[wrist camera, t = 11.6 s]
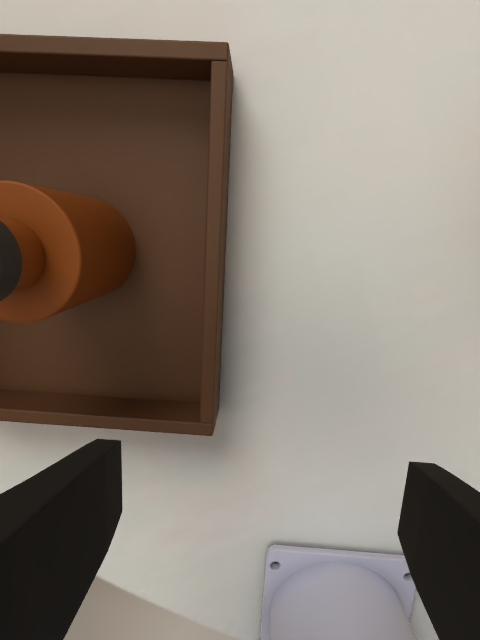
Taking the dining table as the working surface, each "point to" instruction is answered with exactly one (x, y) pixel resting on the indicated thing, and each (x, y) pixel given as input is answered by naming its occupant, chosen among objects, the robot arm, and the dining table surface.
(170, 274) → the tray
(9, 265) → the bottle
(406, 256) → the dining table surface
